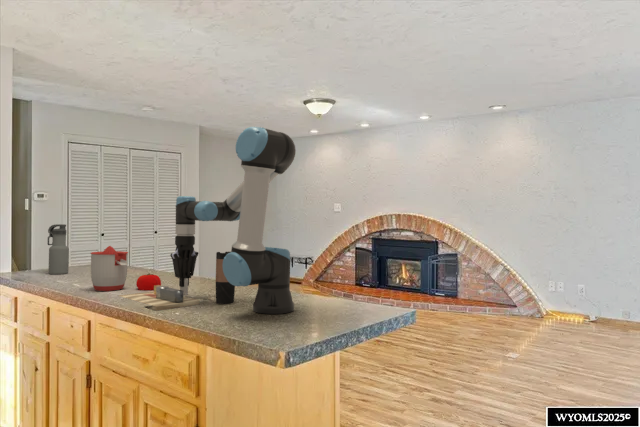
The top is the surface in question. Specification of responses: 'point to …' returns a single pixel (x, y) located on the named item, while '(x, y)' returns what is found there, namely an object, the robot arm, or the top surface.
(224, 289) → the travel mug
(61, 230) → the water bottle
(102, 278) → the citrus juicer
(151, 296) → the striped wooden cutting board
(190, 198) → the robot arm
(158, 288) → the bar
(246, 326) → the top surface
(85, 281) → the top surface
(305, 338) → the top surface
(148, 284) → the tomato
